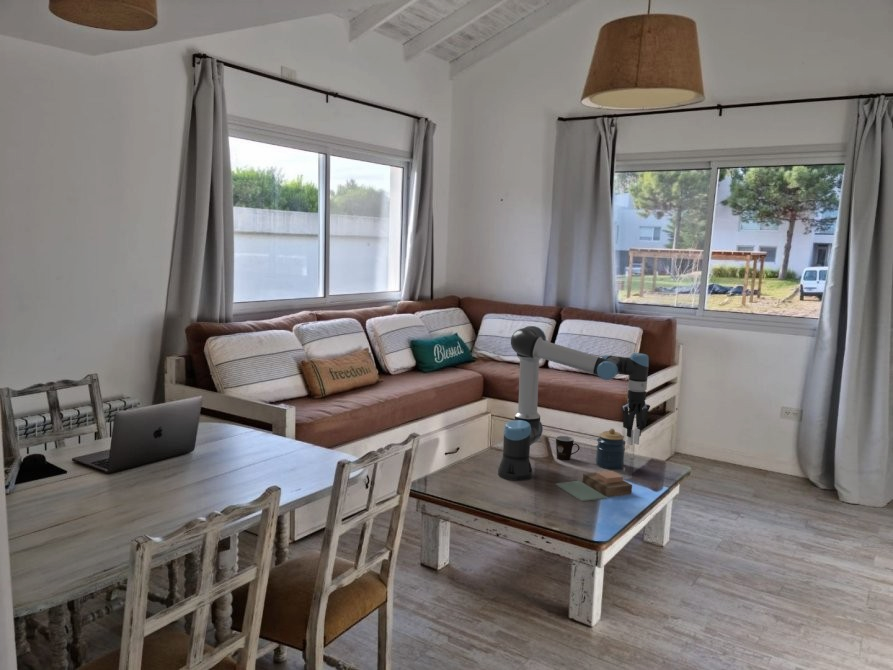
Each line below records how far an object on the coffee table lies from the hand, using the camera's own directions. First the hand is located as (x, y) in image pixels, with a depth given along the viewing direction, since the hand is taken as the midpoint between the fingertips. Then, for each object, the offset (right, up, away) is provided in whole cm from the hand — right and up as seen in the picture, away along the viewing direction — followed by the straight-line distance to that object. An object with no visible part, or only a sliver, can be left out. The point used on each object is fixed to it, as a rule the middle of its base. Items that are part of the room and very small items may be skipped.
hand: (633, 443), depth 294 cm
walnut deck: (-12, -18, -2) cm, 22 cm away
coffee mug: (-23, -13, +35) cm, 44 cm away
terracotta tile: (-11, -15, -2) cm, 18 cm away
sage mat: (-24, -19, -7) cm, 31 cm away
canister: (-3, -15, +29) cm, 33 cm away
